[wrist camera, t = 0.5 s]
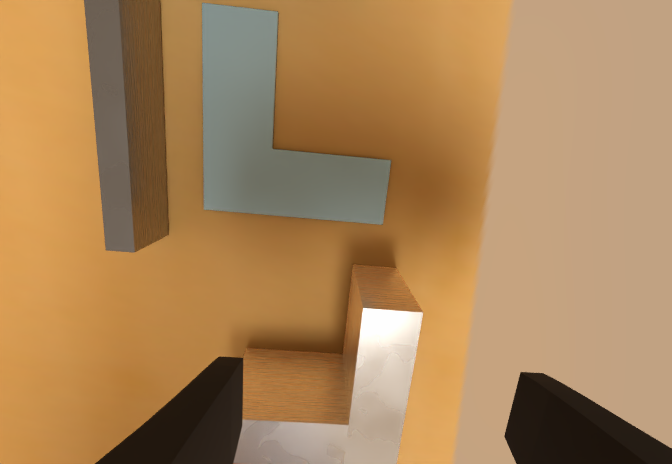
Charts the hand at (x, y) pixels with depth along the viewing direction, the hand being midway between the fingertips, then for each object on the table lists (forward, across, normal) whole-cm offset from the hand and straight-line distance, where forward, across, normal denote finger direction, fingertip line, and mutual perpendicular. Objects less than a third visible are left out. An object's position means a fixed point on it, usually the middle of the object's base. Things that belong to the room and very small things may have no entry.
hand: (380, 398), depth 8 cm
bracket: (+9, +2, +4) cm, 10 cm away
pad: (+9, +3, -7) cm, 12 cm away
